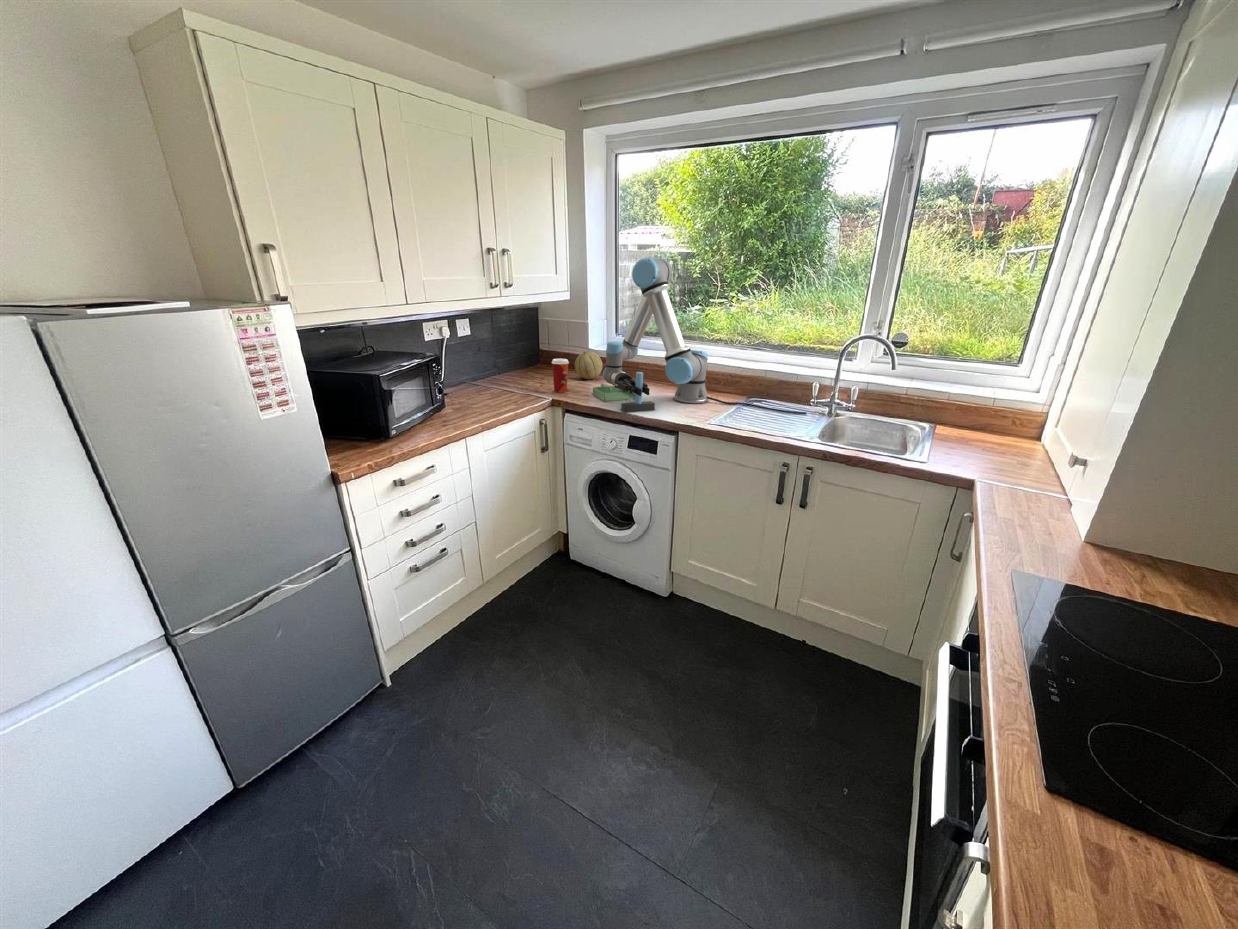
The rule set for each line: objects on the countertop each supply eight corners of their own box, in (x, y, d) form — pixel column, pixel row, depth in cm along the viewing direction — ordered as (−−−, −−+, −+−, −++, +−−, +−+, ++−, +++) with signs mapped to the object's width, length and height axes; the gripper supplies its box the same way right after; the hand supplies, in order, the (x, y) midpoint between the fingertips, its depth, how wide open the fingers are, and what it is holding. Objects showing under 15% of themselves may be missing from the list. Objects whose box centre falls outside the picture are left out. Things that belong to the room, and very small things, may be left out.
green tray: (638, 398, 231) (638, 391, 230) (603, 401, 225) (603, 394, 224) (617, 387, 252) (618, 381, 251) (585, 389, 246) (585, 382, 245)
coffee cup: (568, 393, 238) (567, 361, 232) (550, 392, 238) (550, 360, 232) (570, 389, 245) (569, 358, 240) (553, 388, 245) (552, 357, 240)
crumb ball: (634, 405, 221) (635, 397, 220) (632, 406, 218) (632, 399, 217) (627, 404, 222) (628, 397, 220) (625, 405, 219) (625, 398, 218)
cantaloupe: (607, 378, 272) (608, 350, 266) (592, 383, 260) (592, 354, 254) (584, 375, 279) (585, 347, 273) (569, 379, 267) (569, 350, 261)
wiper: (654, 409, 214) (656, 372, 208) (624, 412, 209) (626, 374, 203) (650, 407, 217) (652, 371, 212) (621, 409, 212) (622, 372, 206)
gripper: (637, 387, 229) (661, 399, 209) (605, 389, 223) (626, 402, 203) (638, 371, 227) (662, 382, 207) (605, 373, 221) (627, 384, 201)
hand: (644, 392), depth 205 cm, fingers closed on wiper, 3 cm apart
